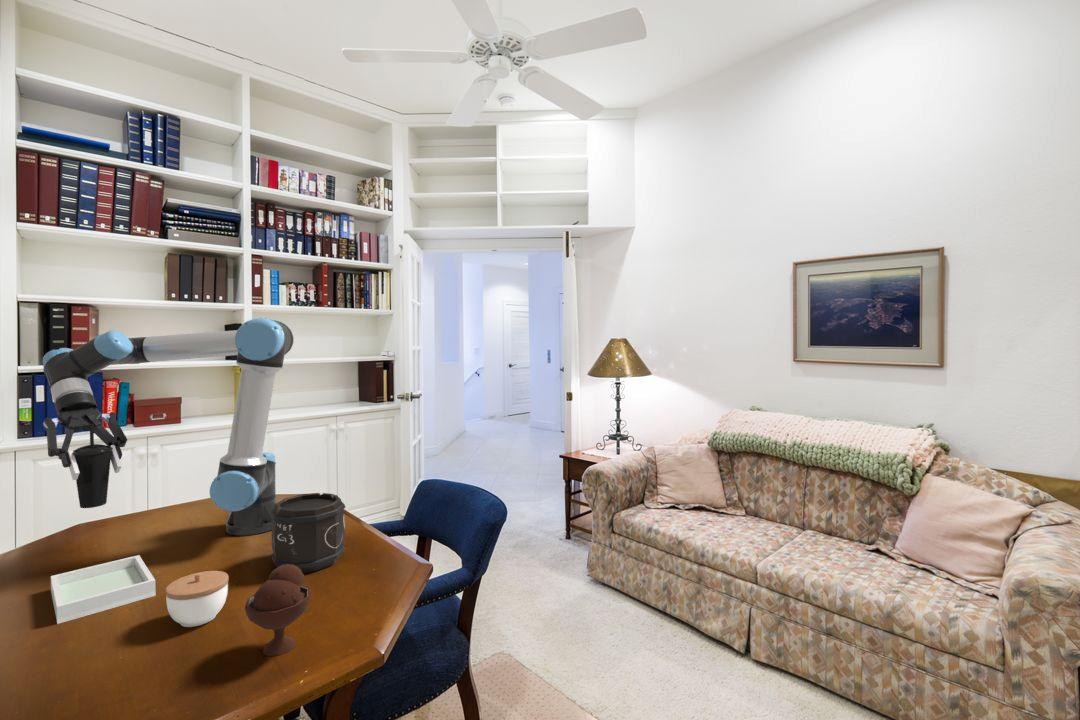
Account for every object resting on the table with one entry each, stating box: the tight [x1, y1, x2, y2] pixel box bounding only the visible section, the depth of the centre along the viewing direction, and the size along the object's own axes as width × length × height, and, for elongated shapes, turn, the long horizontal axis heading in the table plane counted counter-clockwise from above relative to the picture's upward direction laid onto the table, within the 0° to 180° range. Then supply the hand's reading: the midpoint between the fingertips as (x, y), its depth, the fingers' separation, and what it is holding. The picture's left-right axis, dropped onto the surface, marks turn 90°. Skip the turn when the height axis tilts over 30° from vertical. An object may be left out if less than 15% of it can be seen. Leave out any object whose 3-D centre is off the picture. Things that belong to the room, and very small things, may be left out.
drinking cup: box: [72, 423, 113, 509], centre depth 122 cm, size 8×8×20 cm
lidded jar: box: [165, 570, 229, 628], centre depth 103 cm, size 11×11×9 cm
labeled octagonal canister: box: [270, 492, 347, 574], centre depth 132 cm, size 18×18×16 cm
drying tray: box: [50, 554, 157, 625], centre depth 114 cm, size 20×16×4 cm
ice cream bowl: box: [244, 564, 311, 657], centre depth 93 cm, size 11×11×15 cm
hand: (97, 472), depth 120 cm, fingers closed on drinking cup, 7 cm apart
